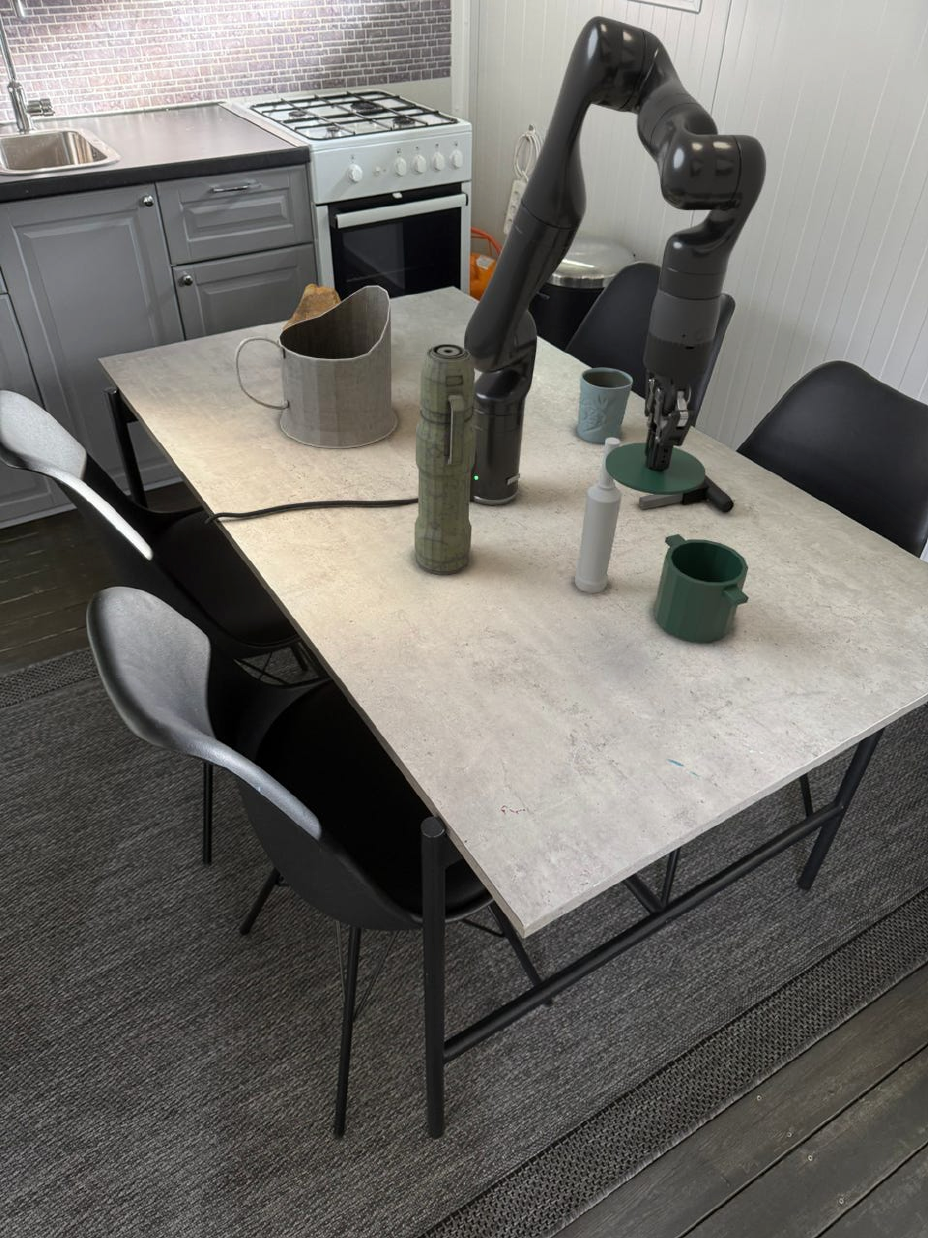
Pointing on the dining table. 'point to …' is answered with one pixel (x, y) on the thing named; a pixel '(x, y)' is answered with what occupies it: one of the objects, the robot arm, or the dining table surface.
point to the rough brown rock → (314, 303)
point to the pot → (699, 589)
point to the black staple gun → (692, 497)
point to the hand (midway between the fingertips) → (656, 461)
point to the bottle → (598, 529)
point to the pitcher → (337, 373)
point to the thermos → (445, 460)
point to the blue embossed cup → (602, 403)
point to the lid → (638, 474)
